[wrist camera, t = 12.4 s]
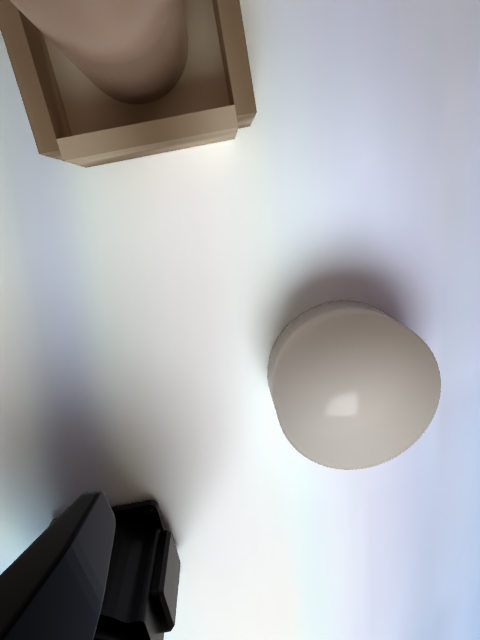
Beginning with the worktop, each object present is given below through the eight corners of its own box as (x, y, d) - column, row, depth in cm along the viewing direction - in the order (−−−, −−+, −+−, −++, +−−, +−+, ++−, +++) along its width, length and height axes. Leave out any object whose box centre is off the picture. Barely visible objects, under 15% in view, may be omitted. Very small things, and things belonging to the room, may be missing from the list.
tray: (69, 170, 18) (42, 164, 16) (3, -55, 16) (-43, -111, 13) (251, 135, 18) (258, 123, 16) (214, -94, 16) (214, -159, 13)
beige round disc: (278, 443, 24) (289, 483, 20) (255, 316, 21) (263, 337, 18) (410, 416, 24) (443, 452, 20) (402, 287, 21) (437, 302, 18)
